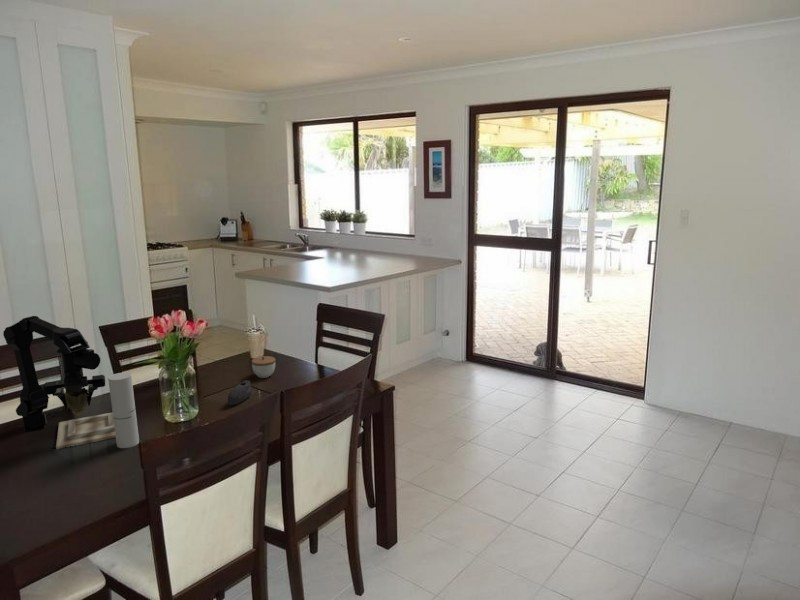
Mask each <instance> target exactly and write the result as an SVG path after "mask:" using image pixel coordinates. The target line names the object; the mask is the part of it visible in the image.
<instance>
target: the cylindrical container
mask: <svg viewBox="0 0 800 600" xmlns="http://www.w3.org/2000/svg"><path fill="white" fill-rule="evenodd" d="M132 377H133V376H132V374H131V373H130V372H117V373H114V374H111V375H109V376H107V379H108V386H109V387H108V388H109V396H110V403H111V404H110V405H111V410H112V412H113V420H114V428H115V435H116V438H115V442H116V447H117V448H119V449H129V448H132V447H135V446H137V445H138V444H139V443H140V436H139V428H138V419H137V410H136V403H135V395H134V394H135V393H134V386H133V378H132ZM112 412H111V413H112Z"/></svg>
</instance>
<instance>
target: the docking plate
mask: <svg viewBox="0 0 800 600" xmlns="http://www.w3.org/2000/svg"><path fill="white" fill-rule="evenodd" d="M56 438H57V439H56V443H55V444H56V445H55V448H56V449H55V450H60V449H65V447H66V448H71V447H76V446H80V445H86V444H91V443H95V442H96V443H97V442H101V441H106V440H111V439H116V435H115V428H114V420H113V412H108V413H102V414H98V415H97V414H96V415H91V416H86V417H80V418H74V419H68V420H65V421H64V420H63V421H60V422H58V429H57V437H56ZM75 445H76V446H75ZM70 446H71V447H70Z"/></svg>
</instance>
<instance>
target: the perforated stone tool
mask: <svg viewBox="0 0 800 600" xmlns="http://www.w3.org/2000/svg"><path fill="white" fill-rule="evenodd" d="M251 394H252V386H251V381H250V380H247V379H245V380H244V381H241V382H240V383H238V384H237V385H236V386H235V387H233V389H232V390H230V392H229V394H228V396H227V402H228V405H230V406H236V405H238V404H240V403H242V402H244V401H245V400H246V399H248V398H249V397H250V396H251Z"/></svg>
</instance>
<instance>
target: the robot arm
mask: <svg viewBox="0 0 800 600" xmlns="http://www.w3.org/2000/svg"><path fill="white" fill-rule="evenodd" d="M34 333H36V334H39V336H43V337H45V338H48V339H50V340H51V341H52V343H53V345H54V346H55V347H58V348H59V349H57V350H56V353H58V354H60V355H61V361H62V368H63V375H64V378H63V382H62V383H59V382H58V381H57V380H53V381H46V382H45V383H44V385H43V387H42V386H41V385H40V383H39V380H38V376H37V371H36V367H35V362H34V359H33V354H32V350H31V347H32V346H31V345H32V343H33V340H34ZM2 334H3V338H4V340H5V342H6V345H7V346H9V347H10V348H11V349H12V350H13V353H14V357H15V360H16V364H17V368H18V373H19V376H20V382H21V386H22V389H21V392H20V395H19V404H18V406H17V407H16V409H15V413H16V415H17V416H19V417H22V422H23V432H24V433H25V432H27V433H28V432H33V431H38V430H43V429H45V427H46V425H47V415H46V412H44V410H46V409H48V405H49V398H50V397H49V395H52V396H53V397H58V399H59V400H60V401H61V403H62V405H63V406H64V408H65V410H69V408H68V406H67V403H66V400H65V397H64V393H65V392H66V393H72V392H80V391H82V388H85V387H88V388H87V390H88V403H87V407H90V405H91V401H92V398H93V394H94V392H95V391H96V390H98V389H99V388H104V387H106V376H105V375H104V374H98V375H92V376H91V379H88V376H87V375H85V376H84V372H83V371H84V370H85V369H86V370H92V371H93V370H95V369H97V368H98V367H99V365H100V363H101V357H100V355H99V354H98V353H96V352H95V350H94V349H93V348H91V349H90V347H91V346H90V345H89V342H88V341H87V340H86V339H85V337H84V336H83V334H82V333H81V331H80V330H79V329H77V328H72V327H60V326H58V325H55V324H53V323H52V322H49V321H46V320H44V319H42V318H40V317H39V316H37V315H32V316H27V317H23V318H22V319H21V320H19V321H18V322H16V323H14V324H12V325H10V326H6V328H4V330H3V333H2ZM83 369H84V370H83Z"/></svg>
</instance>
